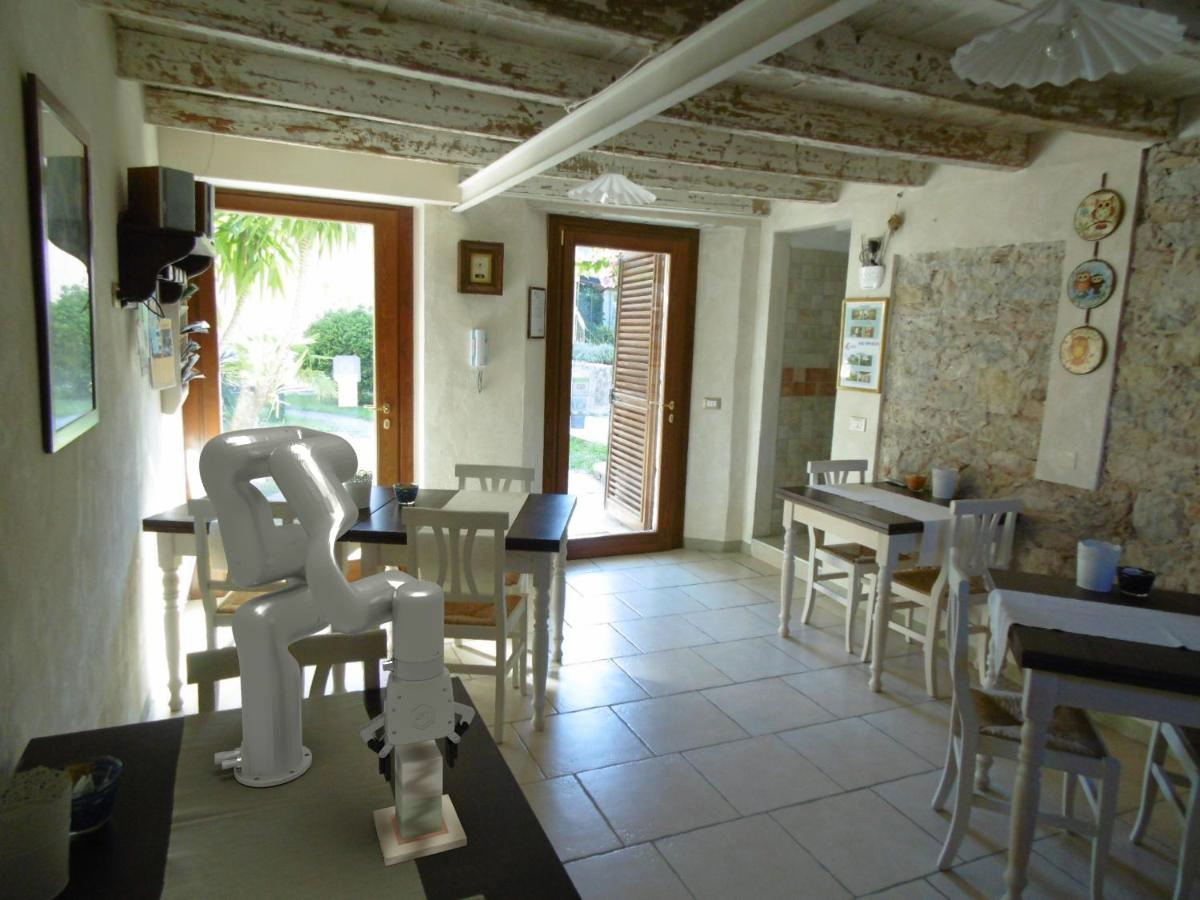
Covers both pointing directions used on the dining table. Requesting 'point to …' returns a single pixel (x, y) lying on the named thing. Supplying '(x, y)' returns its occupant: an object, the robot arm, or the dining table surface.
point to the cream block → (418, 770)
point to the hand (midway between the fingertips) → (418, 769)
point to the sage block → (418, 815)
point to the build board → (420, 845)
